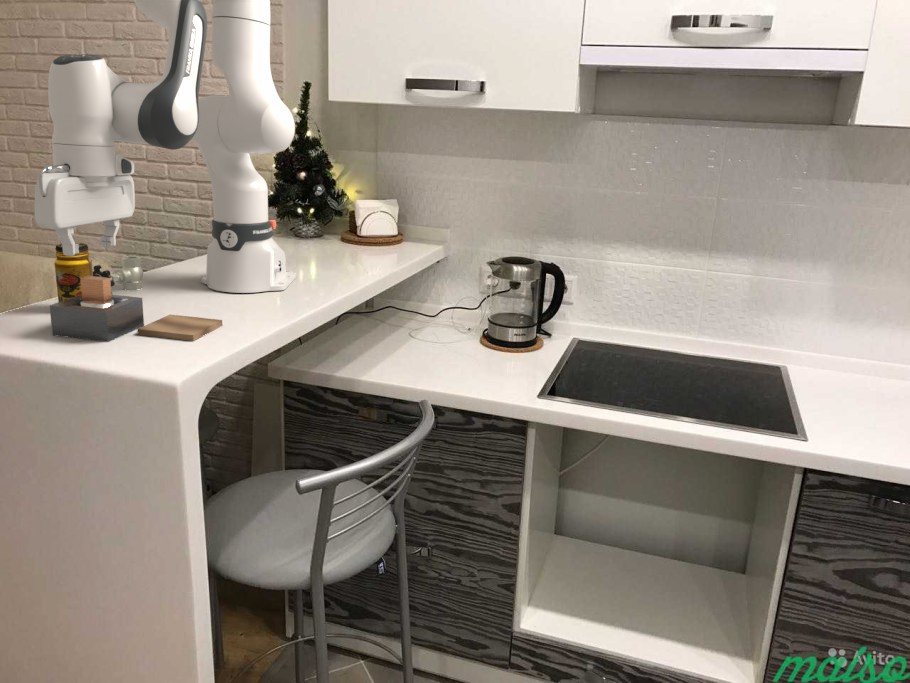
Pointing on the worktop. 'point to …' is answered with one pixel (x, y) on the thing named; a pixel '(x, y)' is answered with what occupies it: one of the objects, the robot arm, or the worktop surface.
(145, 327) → the board
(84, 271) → the condiment
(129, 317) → the housing
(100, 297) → the plug
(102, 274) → the valve
